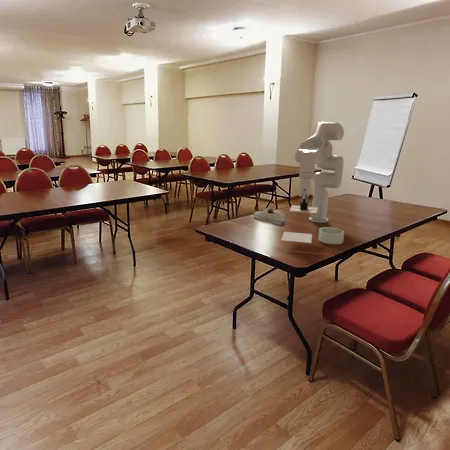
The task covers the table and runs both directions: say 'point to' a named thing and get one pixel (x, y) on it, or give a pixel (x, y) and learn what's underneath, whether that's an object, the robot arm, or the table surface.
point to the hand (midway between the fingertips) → (303, 208)
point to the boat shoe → (270, 216)
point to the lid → (298, 210)
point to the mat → (297, 237)
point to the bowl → (331, 235)
